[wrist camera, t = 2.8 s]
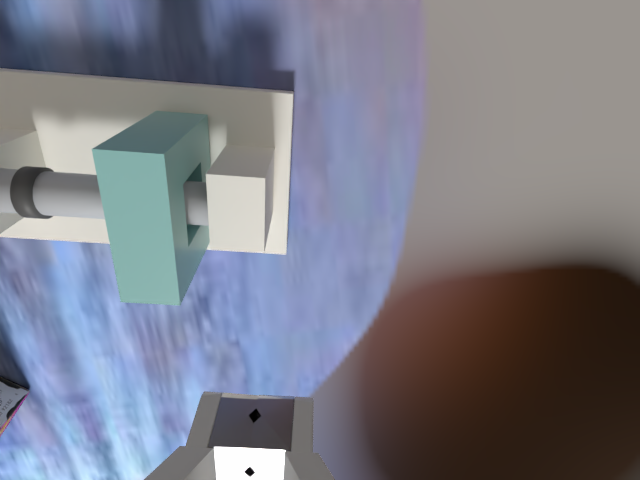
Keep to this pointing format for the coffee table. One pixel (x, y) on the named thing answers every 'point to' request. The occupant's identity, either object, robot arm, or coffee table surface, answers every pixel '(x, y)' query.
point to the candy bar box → (10, 401)
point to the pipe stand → (115, 116)
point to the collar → (153, 204)
